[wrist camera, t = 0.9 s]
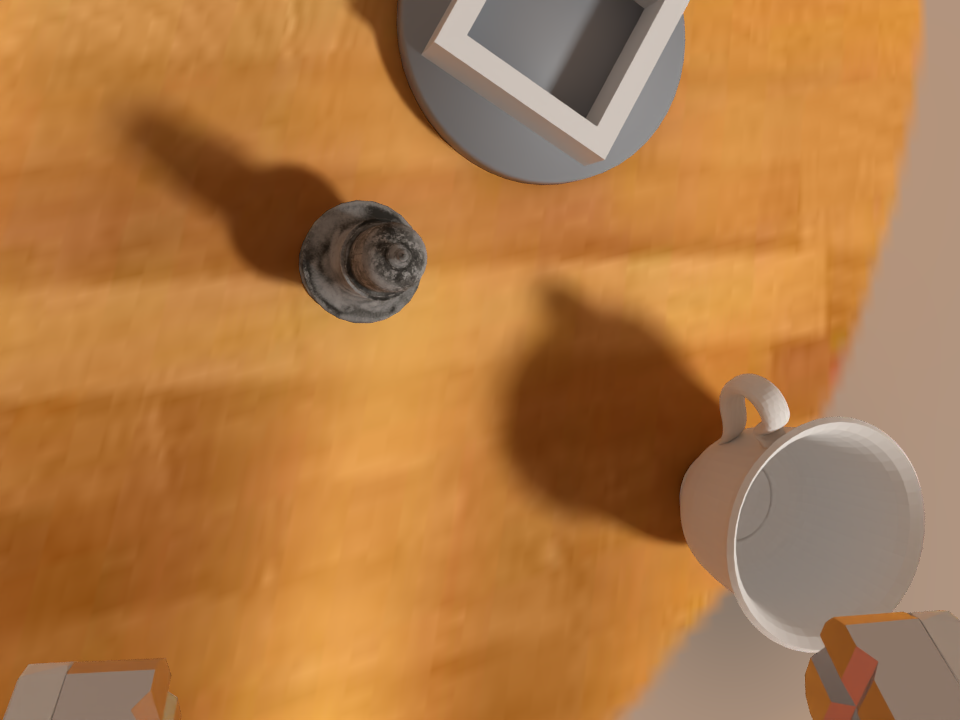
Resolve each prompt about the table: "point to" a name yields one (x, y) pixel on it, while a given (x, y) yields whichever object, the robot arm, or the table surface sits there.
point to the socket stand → (543, 79)
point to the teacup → (802, 516)
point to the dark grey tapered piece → (362, 261)
